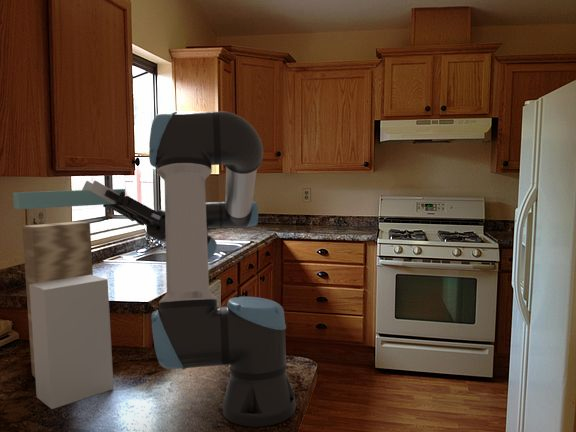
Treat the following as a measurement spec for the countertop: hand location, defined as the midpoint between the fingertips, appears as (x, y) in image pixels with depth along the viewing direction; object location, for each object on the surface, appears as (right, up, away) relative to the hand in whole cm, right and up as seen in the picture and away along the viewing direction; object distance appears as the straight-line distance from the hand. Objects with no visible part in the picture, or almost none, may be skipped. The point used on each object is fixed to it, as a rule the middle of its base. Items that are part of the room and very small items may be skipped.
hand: (88, 185), depth 119 cm
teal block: (-3, -5, -2) cm, 6 cm away
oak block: (-11, -47, +13) cm, 50 cm away
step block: (-2, -48, -1) cm, 48 cm away
